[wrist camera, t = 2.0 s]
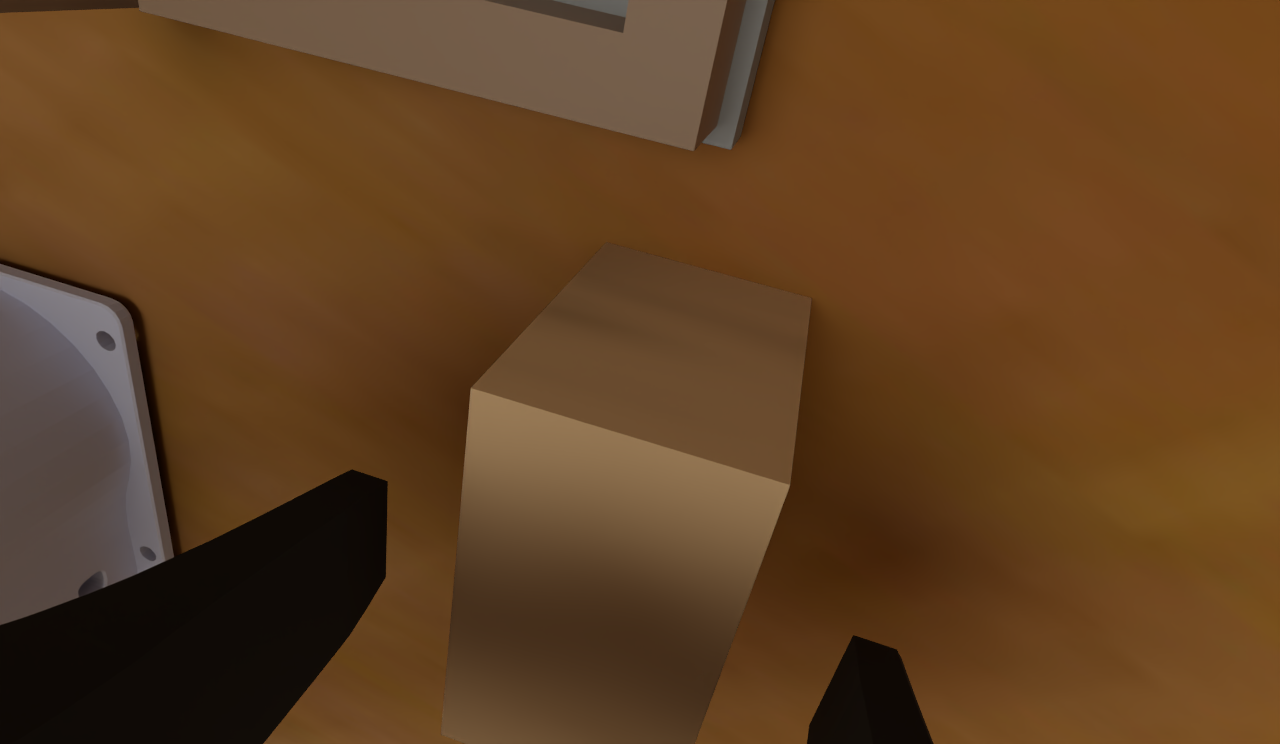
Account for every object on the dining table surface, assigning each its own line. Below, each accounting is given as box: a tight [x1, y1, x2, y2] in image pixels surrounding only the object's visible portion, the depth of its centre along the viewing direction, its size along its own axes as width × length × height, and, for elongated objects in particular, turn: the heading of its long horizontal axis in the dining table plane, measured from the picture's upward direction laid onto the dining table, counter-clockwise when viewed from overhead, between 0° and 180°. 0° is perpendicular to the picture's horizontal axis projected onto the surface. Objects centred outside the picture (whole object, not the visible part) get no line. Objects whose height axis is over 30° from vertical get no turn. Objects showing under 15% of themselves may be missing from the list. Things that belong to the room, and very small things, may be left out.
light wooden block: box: [441, 242, 812, 744], centre depth 13 cm, size 7×4×6 cm, turn 169°
